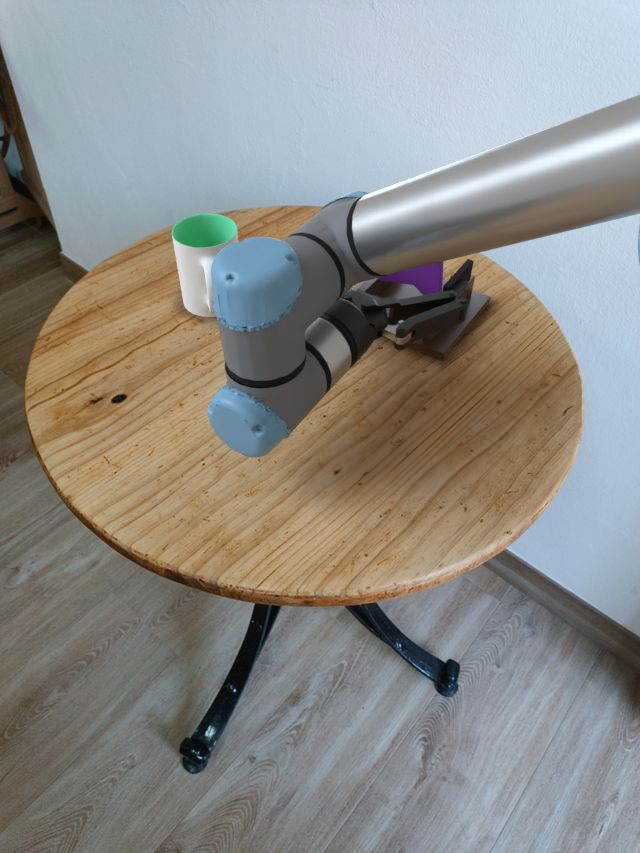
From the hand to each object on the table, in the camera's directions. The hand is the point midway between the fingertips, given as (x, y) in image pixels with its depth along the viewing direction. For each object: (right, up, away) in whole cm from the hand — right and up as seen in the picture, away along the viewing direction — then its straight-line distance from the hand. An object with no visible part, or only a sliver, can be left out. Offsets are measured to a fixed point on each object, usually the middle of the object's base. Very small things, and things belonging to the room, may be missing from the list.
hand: (418, 251), depth 85 cm
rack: (0, -6, +7) cm, 9 cm away
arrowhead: (-1, -4, +5) cm, 6 cm away
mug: (-26, -6, +7) cm, 28 cm away
